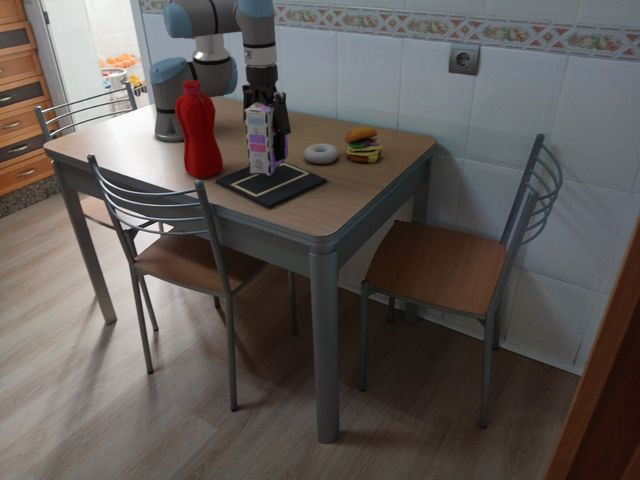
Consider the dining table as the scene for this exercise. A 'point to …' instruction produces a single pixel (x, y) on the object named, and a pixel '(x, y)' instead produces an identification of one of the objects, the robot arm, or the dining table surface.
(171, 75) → the robot arm
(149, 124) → the dining table surface
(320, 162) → the donut
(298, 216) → the dining table surface
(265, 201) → the placemat
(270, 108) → the candy box
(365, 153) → the cheeseburger
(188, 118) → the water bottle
